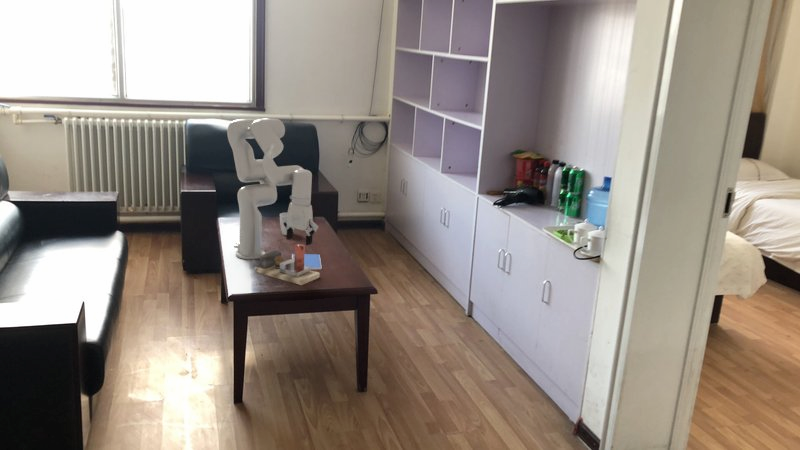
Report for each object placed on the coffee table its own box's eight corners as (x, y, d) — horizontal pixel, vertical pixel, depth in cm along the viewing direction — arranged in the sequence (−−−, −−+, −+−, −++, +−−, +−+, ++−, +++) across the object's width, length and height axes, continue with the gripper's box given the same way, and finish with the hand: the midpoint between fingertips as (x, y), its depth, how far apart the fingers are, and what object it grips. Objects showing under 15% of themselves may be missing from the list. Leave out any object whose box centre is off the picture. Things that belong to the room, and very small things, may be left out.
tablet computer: (291, 256, 306) (291, 253, 306) (319, 256, 308) (320, 253, 308) (292, 270, 288) (292, 267, 288) (322, 270, 290) (322, 267, 290)
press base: (257, 272, 281) (257, 256, 279) (275, 265, 291) (276, 249, 289) (301, 285, 270) (302, 268, 268) (319, 277, 280) (320, 261, 279)
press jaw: (279, 271, 277) (280, 244, 274) (293, 266, 284) (294, 239, 281) (297, 276, 273) (297, 249, 270) (310, 271, 280) (311, 244, 277)
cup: (298, 235, 336) (299, 215, 333) (283, 237, 332) (284, 217, 329) (291, 231, 342) (292, 211, 340) (276, 232, 338) (277, 213, 335)
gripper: (277, 198, 270) (276, 238, 275) (312, 206, 263) (310, 248, 267) (289, 195, 277) (288, 234, 282) (324, 203, 269) (321, 244, 274)
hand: (299, 241), depth 274 cm, fingers open, 9 cm apart
